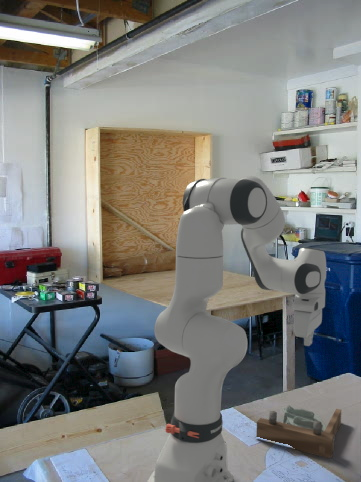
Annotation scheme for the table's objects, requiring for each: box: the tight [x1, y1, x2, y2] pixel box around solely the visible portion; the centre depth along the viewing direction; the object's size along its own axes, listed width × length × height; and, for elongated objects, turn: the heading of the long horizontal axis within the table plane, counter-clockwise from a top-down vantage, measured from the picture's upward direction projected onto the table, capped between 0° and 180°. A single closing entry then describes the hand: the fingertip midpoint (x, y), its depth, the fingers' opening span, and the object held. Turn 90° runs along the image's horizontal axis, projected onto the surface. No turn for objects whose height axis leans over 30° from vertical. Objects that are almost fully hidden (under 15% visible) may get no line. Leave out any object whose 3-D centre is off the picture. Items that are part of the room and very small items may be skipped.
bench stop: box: [255, 408, 342, 459], centre depth 142 cm, size 22×20×8 cm
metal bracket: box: [281, 404, 336, 441], centre depth 145 cm, size 14×6×15 cm
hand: (308, 344), depth 154 cm, fingers closed
